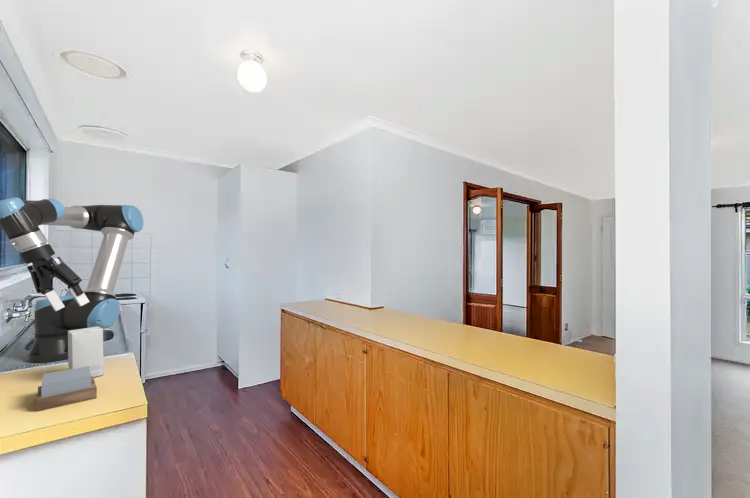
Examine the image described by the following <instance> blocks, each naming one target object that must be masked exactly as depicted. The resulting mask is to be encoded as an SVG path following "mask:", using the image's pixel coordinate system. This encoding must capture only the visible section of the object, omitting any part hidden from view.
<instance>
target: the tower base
mask: <svg viewBox="0 0 750 498" xmlns="http://www.w3.org/2000/svg"><path fill="white" fill-rule="evenodd" d="M97 388H98V387H97V384H96V381H95V377H93V376H92V377H91V388H87V389H82V390H77V391H72V392H67V393H62V394H57V395H52V396H47V397H42V398H41V385H40V386H38V387H37V395H36V396H37V397H36V413H37V412H41V411H42V412H43V411H46V410H50V409H55V408H60V407H65V406H70V405H74V404H78V403H81V402H83V403H84V402H87V401H90V400H91V401H93V400H95V399H97V398H98V397H97V395H98V394H97V392H98V391H97V390H98V389H97Z"/></svg>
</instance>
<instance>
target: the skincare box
mask: <svg viewBox="0 0 750 498" xmlns="http://www.w3.org/2000/svg"><path fill="white" fill-rule="evenodd" d="M67 361H68V362H67V363H68V364H67V365H68V366H67V367H68V369H67V370H70V369H75V368H81V367H87V366H89V367H90V373H91V377H92V376H93V378H96V377H100V376H104V374H105V373H104V372H105V369H104V368H105V367H104V329H102V328H100V327H98V326H96V327H90V328H83V329H77V330H70V331H68V360H67Z"/></svg>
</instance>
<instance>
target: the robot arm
mask: <svg viewBox="0 0 750 498" xmlns="http://www.w3.org/2000/svg"><path fill="white" fill-rule="evenodd" d="M42 225H43V226H63V227H66V226H67V227H69V228H71V229H78V230H79V229H80V230H87V231H94V232H101V234H102V235H103V238H102V240H101V243H100V247H99V250H98V253H97V257H96V259H95V262H94V265H93V269H92V272H91V275H90V278H89V280H88V284H87V287H86V289H85V290H83V288H82V287H81V286H80V283H81V282H82V278H81V277H80V276H79V275H77V273H76V272H75V271H73V270H72V269H71V267H70V266H68V265H67V264H66V262H64V261H63V259H62V258H61V257H60V256H57V257H54V258H53V257H52V256H54V255H55V254H56V252H55V250H54V248H53V247H52V245H51V244H49V243H48V239H47V238H46V236H45V235H44V232H43V231H42V230H41V227H39V226H42ZM0 228H1V229H2V232H3V233H4V234H5V235H6V237H7V238H8V240H9V242H10V245H11V246H12V247H14V249H15V251H17V252H19V257H20V258H21V260H22V261H23V262H24V264H26V265H29V264H31V265H29V266H27V267H26V268H27V269H28V272H29V274H30V276H31V277H30V278H31V279H32V282H33V285H34V288H35V291H36V293H37V294H42V295H44V297H45V299H39V300H37V301H36V302H35V305H34V306H35V307H34V340H33V342H32V345H31V347H30V350H29V352H28V354H27V361H28V362H29V363H36V364H37V363H38V364H39V363H50V362H57V361H61V360H62V361H63V360H67V359H68V331H70V330H77V329H83V328H90V327H96V326H98V327H100V328H102V329H103V330H104V329H108V328H110V327H111V326H112V325H114V323H115V322H117V320H118V318H119V315H120V312H121V307H120V306H121V304H120V302H119V301H118V300H117V296H116V294H115V293H114V291H115V286H116V285H117V280H118V277H119V273H120V270H121V266H122V263H123V260H124V255H125V252H126V250H127V249H126V248H127V246H128V242H129V241H130V240H133V238H134V235H135V233H138V232H141V231H142V230H143V228H144V216H143V213H142V212H141V209H139V208H138V207H137V206H135V205H128V204H93V205H92V204H91V205H72V206H64V204H63V203H62V202H60V200H58V199H55V198H43V199H41V200H24V199H23V200H22V199H21V198H20V197H10V198H5V199H2V200H0ZM51 276H53V277H55V278H57V280H59V281H60V282H62V283H63V284H65V285H67V289H68V291H69V292H70V294H71V295H66V296H59V295H58V293H56V291H55V289H54V288H53V287H52V283H51V282H52V280H51Z"/></svg>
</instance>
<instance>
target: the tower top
mask: <svg viewBox="0 0 750 498" xmlns="http://www.w3.org/2000/svg"><path fill="white" fill-rule="evenodd" d="M42 375H43V376H42V380H41V383H40V384H41V385H40V386H41V398H42V397H47V396H52V395H57V394H62V393H67V392H72V391H77V390H82V389H87V388H91V373H90V367H89V366H87V367H81V368H75V369H70V370H68V369H64V370H59V371H54V372H53V371H52V372H46V373H43V374H42Z"/></svg>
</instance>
